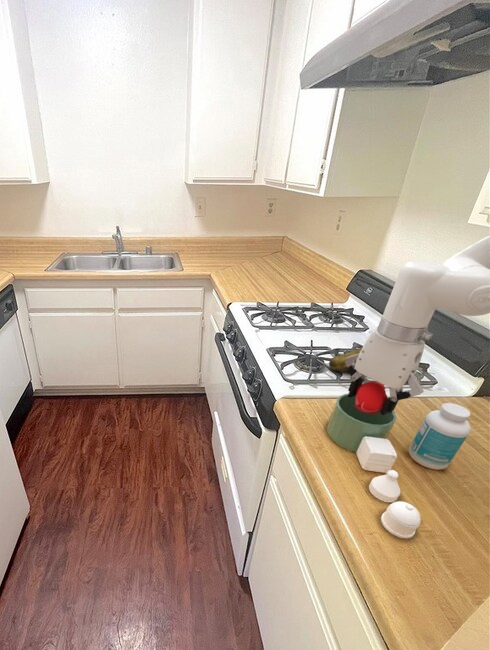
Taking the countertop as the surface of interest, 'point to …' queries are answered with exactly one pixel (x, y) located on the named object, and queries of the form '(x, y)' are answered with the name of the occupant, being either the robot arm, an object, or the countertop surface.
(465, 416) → the pill bottle
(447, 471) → the countertop surface
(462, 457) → the countertop surface
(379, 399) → the cap
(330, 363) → the potato
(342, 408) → the cup
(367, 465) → the container set
